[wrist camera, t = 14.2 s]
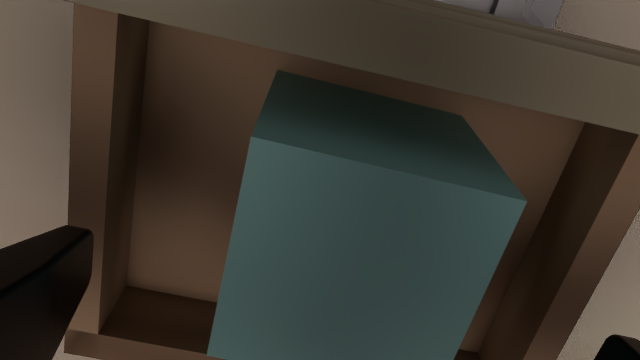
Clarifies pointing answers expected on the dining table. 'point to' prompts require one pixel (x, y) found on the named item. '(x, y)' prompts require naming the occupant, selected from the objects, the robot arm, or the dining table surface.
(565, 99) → the cart
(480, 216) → the block
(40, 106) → the dining table surface
